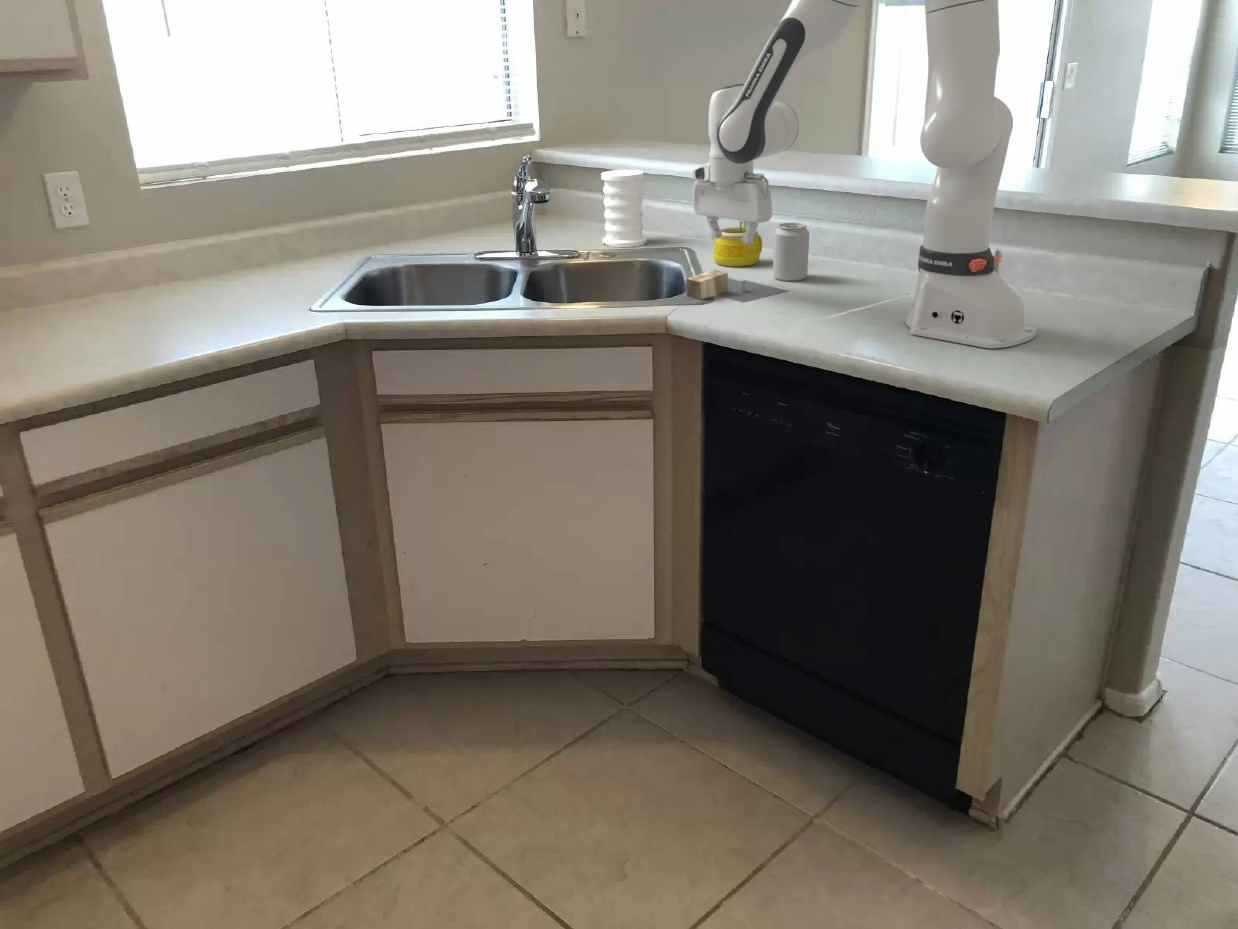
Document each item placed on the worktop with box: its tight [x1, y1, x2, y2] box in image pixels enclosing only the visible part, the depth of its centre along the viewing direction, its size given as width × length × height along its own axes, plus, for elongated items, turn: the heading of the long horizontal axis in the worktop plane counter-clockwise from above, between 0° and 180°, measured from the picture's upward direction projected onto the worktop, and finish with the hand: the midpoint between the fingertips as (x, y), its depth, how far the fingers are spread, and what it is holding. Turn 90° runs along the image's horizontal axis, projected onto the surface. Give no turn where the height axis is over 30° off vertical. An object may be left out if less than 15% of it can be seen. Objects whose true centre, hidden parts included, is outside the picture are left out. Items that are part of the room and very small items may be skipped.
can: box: [772, 222, 810, 282], centre depth 204 cm, size 8×8×12 cm
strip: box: [728, 275, 746, 293], centre depth 199 cm, size 8×1×2 cm, turn 37°
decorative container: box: [600, 169, 647, 246], centre depth 245 cm, size 12×12×18 cm
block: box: [685, 268, 729, 300], centre depth 196 cm, size 4×4×8 cm
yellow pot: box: [713, 220, 763, 268], centre depth 220 cm, size 13×11×12 cm
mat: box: [717, 279, 789, 304], centre depth 198 cm, size 14×13×1 cm
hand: (732, 240), depth 195 cm, fingers open, 8 cm apart
